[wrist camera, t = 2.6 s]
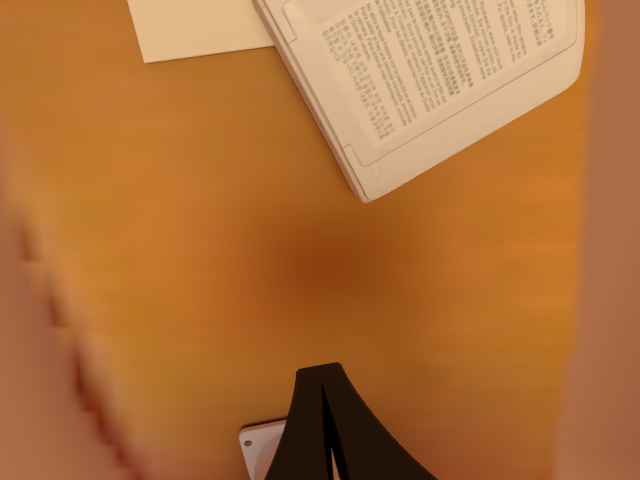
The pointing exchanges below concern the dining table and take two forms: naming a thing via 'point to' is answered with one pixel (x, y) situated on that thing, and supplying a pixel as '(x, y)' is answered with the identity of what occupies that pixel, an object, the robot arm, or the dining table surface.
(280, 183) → the dining table surface
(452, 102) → the photo printer
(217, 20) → the mat
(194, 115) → the dining table surface
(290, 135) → the dining table surface
